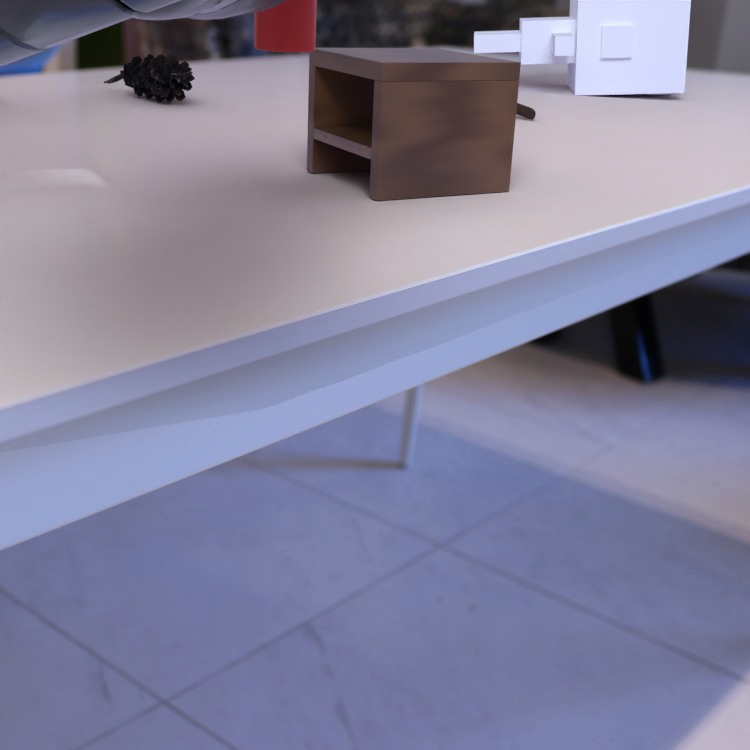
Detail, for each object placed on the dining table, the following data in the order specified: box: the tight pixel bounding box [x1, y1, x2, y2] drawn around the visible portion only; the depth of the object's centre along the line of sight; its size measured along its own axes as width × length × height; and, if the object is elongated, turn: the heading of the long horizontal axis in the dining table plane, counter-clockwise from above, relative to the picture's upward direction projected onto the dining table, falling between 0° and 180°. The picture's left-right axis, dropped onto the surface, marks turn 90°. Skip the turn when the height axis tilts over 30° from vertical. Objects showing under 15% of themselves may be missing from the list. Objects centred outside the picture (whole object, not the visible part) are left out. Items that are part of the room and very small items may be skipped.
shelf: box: [306, 47, 522, 202], centre depth 76 cm, size 11×11×9 cm
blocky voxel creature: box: [473, 0, 692, 96], centre depth 142 cm, size 15×25×28 cm
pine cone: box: [103, 52, 196, 104], centre depth 114 cm, size 18×5×5 cm, turn 39°
